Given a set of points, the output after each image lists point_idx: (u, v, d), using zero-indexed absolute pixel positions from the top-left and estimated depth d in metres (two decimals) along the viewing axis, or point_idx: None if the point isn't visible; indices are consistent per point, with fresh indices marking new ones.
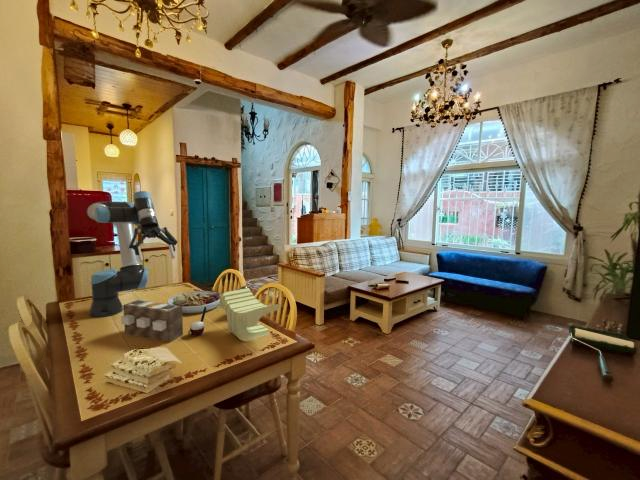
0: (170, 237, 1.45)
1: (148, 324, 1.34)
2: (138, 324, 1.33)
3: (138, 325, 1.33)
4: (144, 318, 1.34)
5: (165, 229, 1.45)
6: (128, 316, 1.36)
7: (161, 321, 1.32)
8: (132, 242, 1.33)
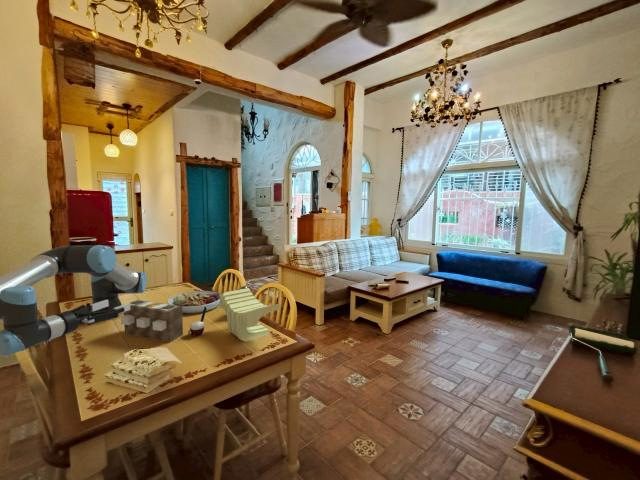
0: None
1: (148, 324, 1.34)
2: (138, 324, 1.33)
3: (138, 325, 1.33)
4: (144, 318, 1.34)
5: None
6: (128, 316, 1.36)
7: (161, 321, 1.32)
8: None
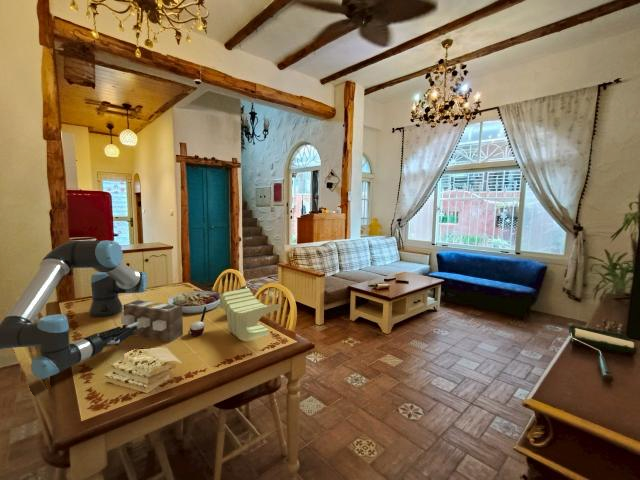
0: None
1: (149, 324, 1.35)
2: None
3: None
4: (145, 318, 1.35)
5: None
6: (128, 316, 1.36)
7: (161, 321, 1.32)
8: None
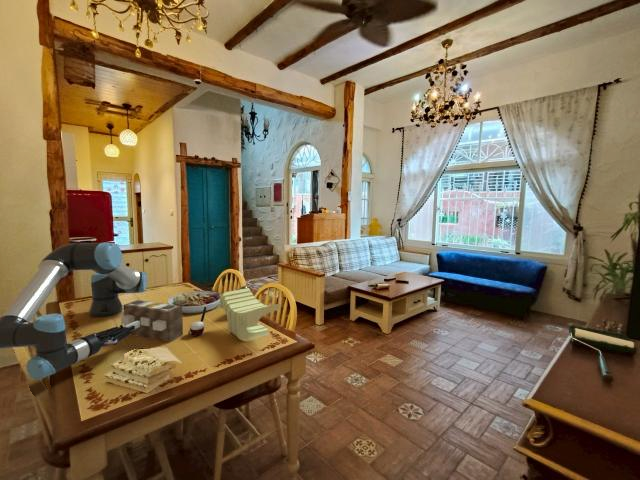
0: None
1: None
2: (142, 322, 1.35)
3: (142, 323, 1.35)
4: None
5: None
6: (128, 316, 1.36)
7: (161, 321, 1.32)
8: None
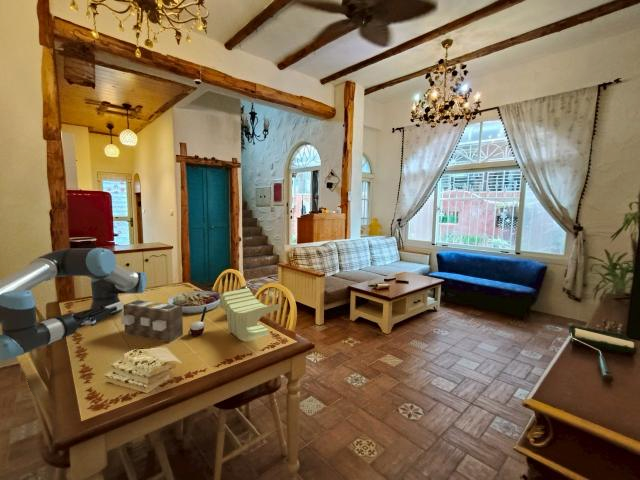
0: None
1: None
2: (142, 322, 1.35)
3: (142, 323, 1.35)
4: None
5: None
6: (128, 316, 1.36)
7: (161, 321, 1.32)
8: None
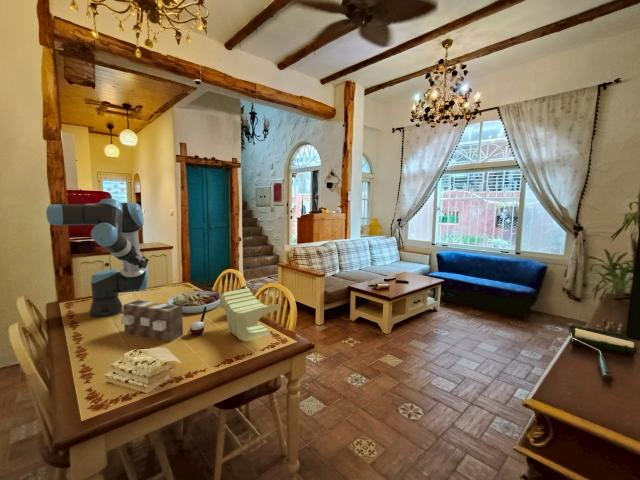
0: (141, 264, 1.29)
1: None
2: (142, 322, 1.35)
3: (142, 323, 1.35)
4: None
5: (140, 262, 1.26)
6: (128, 316, 1.36)
7: (161, 321, 1.32)
8: (128, 261, 1.31)
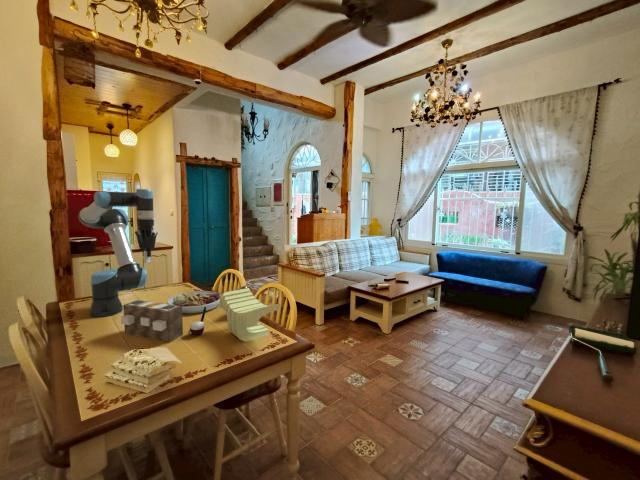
0: (150, 242, 1.56)
1: None
2: (142, 322, 1.35)
3: (142, 323, 1.35)
4: None
5: (152, 234, 1.55)
6: (128, 316, 1.36)
7: (161, 321, 1.32)
8: (139, 245, 1.58)
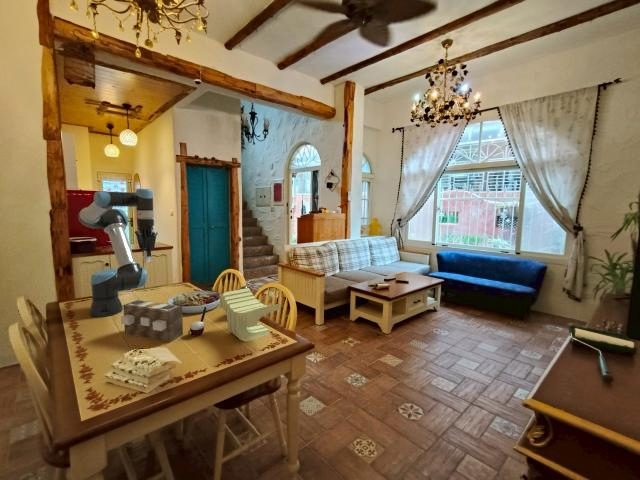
0: (150, 242, 1.56)
1: None
2: (142, 322, 1.35)
3: (142, 323, 1.35)
4: None
5: (152, 234, 1.55)
6: (128, 316, 1.36)
7: (161, 321, 1.32)
8: (139, 245, 1.58)
